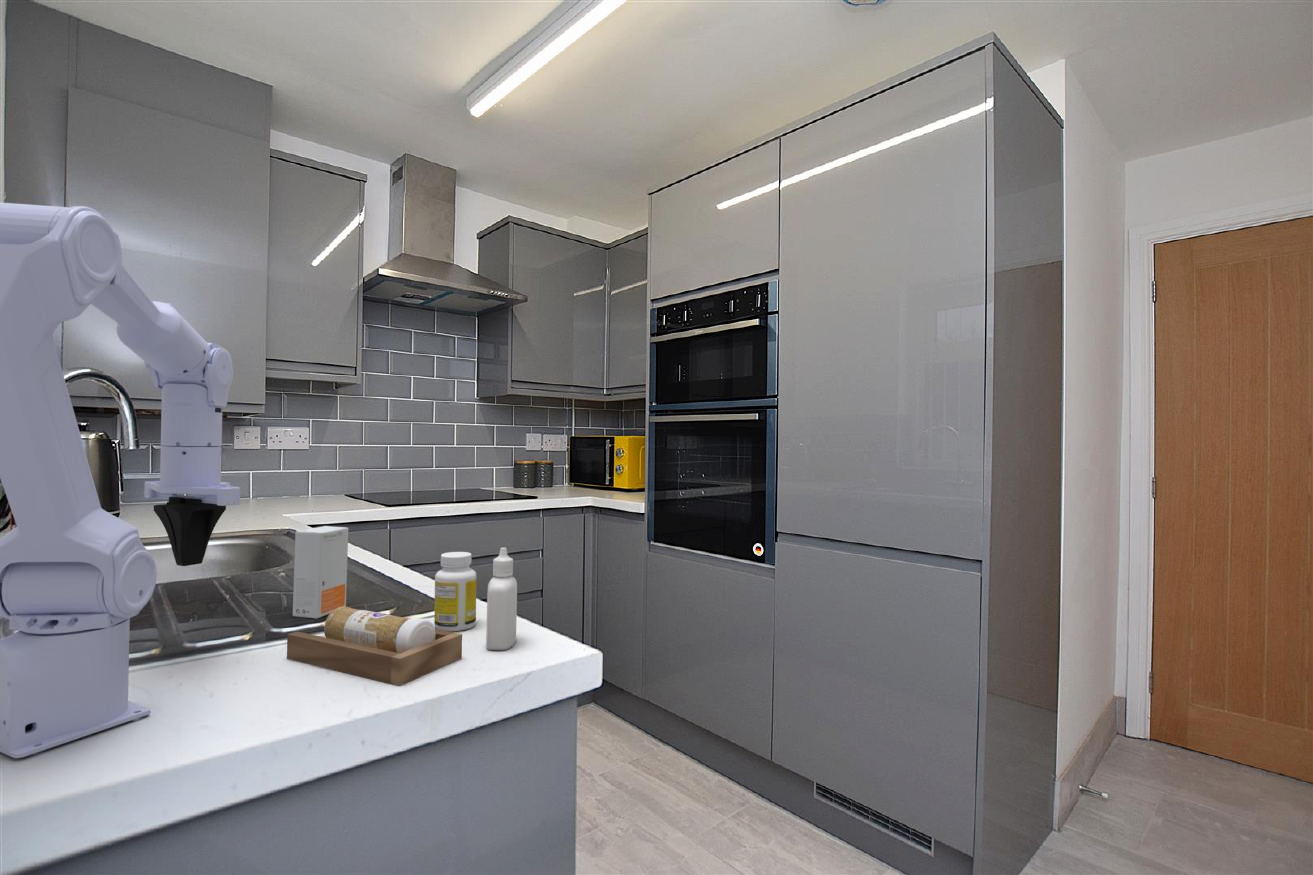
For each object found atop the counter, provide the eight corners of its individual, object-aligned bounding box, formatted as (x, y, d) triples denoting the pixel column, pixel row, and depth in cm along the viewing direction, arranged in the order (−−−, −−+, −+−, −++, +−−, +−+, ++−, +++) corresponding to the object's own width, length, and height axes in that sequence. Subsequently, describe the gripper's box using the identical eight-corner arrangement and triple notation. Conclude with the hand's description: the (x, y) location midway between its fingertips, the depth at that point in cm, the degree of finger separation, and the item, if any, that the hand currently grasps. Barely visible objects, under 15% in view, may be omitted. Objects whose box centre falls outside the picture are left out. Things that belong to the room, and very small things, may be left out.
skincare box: (318, 619, 90) (320, 532, 90) (291, 617, 91) (293, 531, 91) (347, 608, 96) (349, 526, 96) (322, 606, 97) (324, 525, 97)
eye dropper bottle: (471, 647, 80) (474, 549, 80) (503, 635, 85) (505, 543, 85) (499, 653, 78) (501, 553, 78) (529, 640, 83) (531, 546, 83)
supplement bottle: (469, 618, 92) (471, 549, 92) (480, 629, 87) (482, 556, 87) (430, 623, 89) (431, 552, 89) (439, 634, 84) (440, 559, 84)
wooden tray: (399, 685, 67) (400, 658, 67) (286, 658, 74) (287, 634, 74) (461, 658, 76) (462, 634, 76) (355, 636, 83) (355, 614, 83)
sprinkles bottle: (350, 599, 81) (434, 612, 76) (356, 633, 82) (440, 648, 76) (318, 616, 77) (405, 631, 71) (325, 651, 78) (411, 668, 72)
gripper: (267, 447, 76) (264, 564, 76) (190, 444, 82) (187, 552, 82) (203, 448, 69) (200, 576, 69) (124, 444, 75) (122, 562, 75)
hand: (189, 564), depth 75 cm, fingers closed
